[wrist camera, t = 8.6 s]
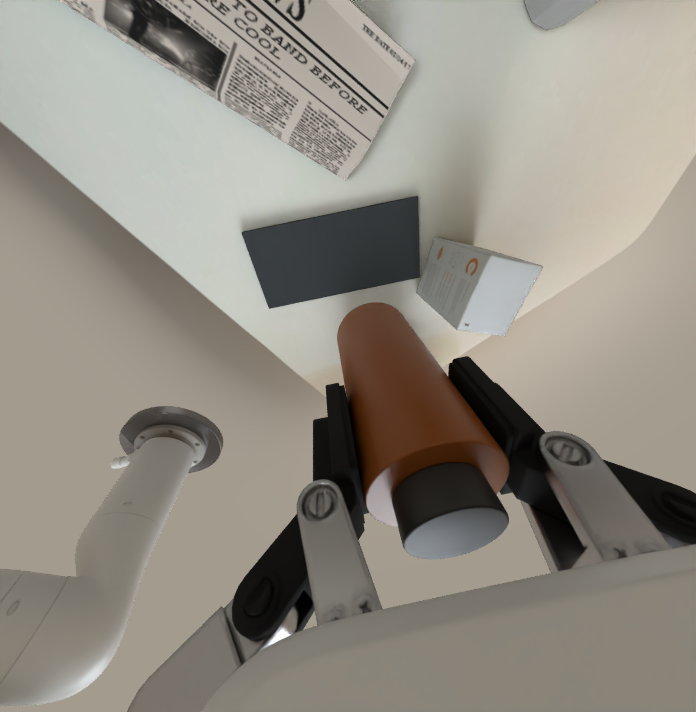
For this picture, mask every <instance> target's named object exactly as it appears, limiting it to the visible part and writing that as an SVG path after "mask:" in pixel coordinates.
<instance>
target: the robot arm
mask: <svg viewBox="0 0 696 712" xmlns="http://www.w3.org/2000/svg"><path fill="white" fill-rule="evenodd" d="M448 374H449V375H448V377H449V379H450V380H451V381H452V383H453V384H454V385H455V387H456V388H457V389H458V391H459V392H460V393H461V395H462V396H463V398H464V399H465V400H466V402H467V403H468V404H469V406H470V407H471V408H472V410H473V411H474V412H475V414H476V415H477V416H478V418H479V419H480V420H481V422H482V423H483V424H484V426H485V427H486V429H487V430H488V431H489V433H490V434H491V435H492V437H493V438H494V439H495V441H496V442H497V443H498V445H499V446H500V447H501V449H502V450H503V451H504V453H505V454H506V456H507V458H508V461H509V467H510V471H509V476H508V478H507V481H506V482H505V484H504V486H503V487H502V488H501V490H500V491H499V492H500V493H501V494H507V493H512V492H513V494H514V495H515V497H516V498H517V499H519V500H521V504H522V506H523V508H524V510H525V513H526V515H527V518H528V520H529V522H530V525H531V527H532V529H533V532H534V534H535V536H536V539H537V541H538V543H539V546H540V548H541V550H542V553H543V555H544V558H545V560H546V562H547V565H548V567H549V569H550V571H551V573H550V574H545V575H541V576H535V577H531V578H526V579H521V580H516V581H512V582H507V583H503V584H498V585H493V586H488V587H484V588H479V589H474V590H470V591H465V592H460V593H456V594H451V595H446V596H442V597H437V598H432V599H428V600H423V601H419V602H414V603H410V604H405V605H401V606H396V607H391V608H387V609H382V606H381V604H380V601H379V598H378V595H377V592H376V589H375V586H374V583H373V581H372V578H371V575H370V572H369V569H368V567H367V564H366V561H365V558H364V555H363V552H362V549H361V547H360V544H359V541H358V540H359V538H360V537H361V535H362V533H363V532H364V523H365V521H364V515H363V514H366V513H369V512H368V510H367V509H366V506H365V503H364V497H363V490H362V483H361V477H360V471H359V465H358V459H357V453H356V447H355V441H354V435H353V429H352V423H351V417H350V411H349V405H348V400H347V396H346V392H345V387H344V385H342V386H339V383H335V384H330V385H326V398H327V413H328V417H325V418H320V419H315V420H314V421H313V482H312V483H310V484H309V485H307V486H306V487H305V488H304V489H303V491H302V492H301V494H300V496H299V498H298V502H297V514H296V516H295V517H294V518H293V519H292V520H291V522H290V523H289V524H288V526H287V527H286V528H285V529H284V530H283V531H282V533H281V534H280V535H279V536H278V538H277V539H276V540H275V541H274V542H273V543H272V545H271V546H270V547H269V548H268V550H267V551H266V552H265V553H264V554H263V556H262V557H261V558H260V559H259V560H258V562H257V563H256V564H255V565H254V566H253V568H252V569H251V570H250V571H249V573H248V574H247V575H246V576H245V577H244V579H243V581H242V582H241V583H240V585H239V586H238V589H237V591H236V593H235V596H234V599H233V600H232V601H231V602H230V603H229V604H228V605H227V606H226V607H225V608H223V607H220V608H219V609H218V610H217V611H216V612H215V613H214V614H213V615H212V616H211V617H210V618H209V619H208V620H207V621H206V622H205V623H204V624H203V625H202V626H201V627H200V628H199V629H198V630H197V631H196V632H195V633H194V634H193V635H192V636H191V637H190V638H189V639H188V640H187V641H186V642H184V643H183V644H182V645H181V646H180V647H179V648H178V649H177V650H176V651H175V652H174V653H173V654H172V655H171V656H170V657H169V658H168V659H167V660H166V661H165V662H164V663H163V664H162V665H161V666H160V667H159V668H158V669H157V670H156V671H155V672H154V673H153V674H152V675H151V676H150V677H149V678H148V679H147V681H146V682H145V683H144V684H143V685H142V687H141V688H140V689H139V690H138V692H137V694H136V696H135V697H134V699H133V701H132V703H131V705H130V706H129V709H128V712H696V494H695V493H694V492H692V491H690V490H687V489H685V488H683V487H680V486H678V485H675V484H672V483H669V482H666V481H663V480H661V479H658V478H654V477H652V476H649V475H646V474H643V473H640V472H637V471H635V470H632V469H628V468H626V467H623V466H620V465H617V464H614V463H611V462H608V461H605V460H603V459H601V457H600V456H599V455H598V453H597V452H596V451H595V450H594V449H593V447H592V446H591V445H590V444H588V443H587V442H586V441H584V440H583V439H581V438H579V437H577V436H575V435H573V434H569V433H566V432H561V431H551V432H547V433H546V432H545V431H544V430H543V429H542V428H541V427H540V426H539V425H538V424H537V423H536V422H535V421H534V420H533V419H532V418H531V417H530V416H529V415H528V414H527V413H526V412H525V411H524V410H523V409H522V408H521V407H520V406H519V405H518V404H517V403H516V402H515V401H514V400H513V399H512V398H511V397H510V396H509V395H508V394H507V393H506V392H505V391H504V389H503V388H501V387H500V386H499V385H498V384H497V383H494V382H493V381H492V380H491V379H490V378H489V377H488V376H487V375H486V374H485V373H484V372H483V371H482V370H481V369H480V368H479V367H478V366H477V365H476V364H475V363H474V362H473V361H472V359H471V358H470V357H467V356H466V357H461V358H456V359H453V362H452V363H450V364H449V373H448ZM134 448H135V451H134V452H133V453H131V454H129V455H128V456H127V457H119V458H115V459H113V460H112V461H111V467H112V468H113V469H116V468H121V467H125V466H127V468H126V469H125V471H124V472H123V473H122V475H121V476H120V478H119V479H118V481H117V482H116V484H115V485H114V487H113V488H112V489H111V491H110V492H109V494H108V495H107V497H106V498H105V500H104V501H103V503H102V504H101V506H100V507H99V509H98V510H97V511H96V513H95V514H94V516H93V517H92V519H91V520H90V522H89V523H88V525H87V526H86V528H85V529H84V530H83V532H82V534H81V536H80V539H79V540H78V543H77V547H76V554H75V563H76V573H77V577H71V576H68V577H65V576H57V575H51V574H43V573H36V572H29V571H21V570H10V569H0V706H17V705H18V706H20V705H37V704H44V703H50V702H54V701H58V700H62V699H65V698H67V697H70V696H72V695H74V694H76V693H78V692H79V691H81V690H83V689H85V688H86V687H87V686H88V685H90V684H91V683H92V682H93V681H94V680H95V679H96V678H97V677H99V675H100V674H101V673H102V672H103V671H104V670H105V668H106V667H107V665H108V664H109V663H110V661H111V659H112V658H113V656H114V654H115V652H116V650H117V649H118V646H119V644H120V642H121V639H122V637H123V635H124V631H125V629H126V626H127V623H128V620H129V616H130V613H131V610H132V606H133V603H134V600H135V596H136V593H137V590H138V587H139V584H140V581H141V578H142V575H143V573H144V570H145V568H146V565H147V563H148V560H149V558H150V556H151V553H152V551H153V549H154V546H155V544H156V542H157V540H158V537H159V535H160V533H161V531H162V529H163V527H164V524H165V522H166V520H167V518H168V515H169V513H170V511H171V509H172V507H173V504H174V502H175V500H176V498H177V496H178V493H179V491H180V489H181V487H182V484H183V482H184V480H185V478H186V475H187V473H188V471H189V469H190V467H192V466H194V465H196V464H198V463H199V462H200V461H201V460H202V459H203V457H204V455H205V452H206V446H205V443H204V442H203V440H202V439H201V438H200V437H199V436H198V435H197V434H196V433H194V432H193V431H191V430H189V429H186V428H184V427H180V426H176V425H168V424H164V425H154V426H151V427H148V428H146V429H144V430H143V431H141V432H140V433H139V435H138V436H137V437H136V439H135V441H134ZM22 573H23V574H22ZM19 577H20V578H19ZM9 590H10V591H9ZM314 611H315V614H316V620H317V626H315V627H311V628H308V629H305V630H303V628H304V627H305V625H306V624H307V622H308V620H309V619H310V617H311V615H312V614H313V612H314Z"/></svg>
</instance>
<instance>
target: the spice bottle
mask: <svg viewBox="0 0 696 712" xmlns="http://www.w3.org/2000/svg"><path fill="white" fill-rule="evenodd" d="M337 341H338V347H339V353H340V359H341V365H342V371H343V377H344V383H345V389H346V395H347V400H348V405H349V411H350V417H351V423H352V429H353V435H354V441H355V447H356V453H357V459H358V465H359V471H360V477H361V483H362V490H363V497H364V503H365V506H366V509H367V510H368V512H369V513H370V514H371V515H372V516H373V517H374V518H376V519H377V520H378V521H380V522H383V523H385V524H388V525H392V526H397V527H398V528H399V532H400V536H401V540H402V544H403V547H404V549H405V550H406V552H407V553H408V554H410V555H412V556H414V557H417V558H423V559H444V558H450V557H455V556H459V555H463V554H466V553H469V552H472V551H474V550H477V549H479V548H481V547H483V546H485V545H487V544H488V543H490V542H492V541H493V540H495V539H496V538H497V537H498V536H499V535H501V534H502V533H503V532H504V530H505V529H506V528H507V525H508V522H509V517H508V514H507V512H506V510H505V509H504V507H503V505H502V503H501V502H500V500H499V498H498V497H497V495H496V494H497V493H498V492H499V491H500V490H501V488H502V487H503V486H504V484H505V482H506V481H507V478H508V476H509V471H510V467H509V461H508V458H507V456H506V454H505V453H504V451H503V450H502V449H501V447H500V446H499V445H498V443H497V442H496V441H495V439H494V438H493V437H492V435H491V434H490V433H489V431H488V430H487V429H486V427H485V426H484V424H483V423H482V422H481V420H480V419H479V418H478V416H477V415H476V414H475V412H474V411H473V410H472V408H471V407H470V406H469V404H468V403H467V402H466V400H465V399H464V398H463V396H462V395H461V393H460V392H459V391H458V389H457V388H456V387H455V385H454V384H453V383H452V381H451V380H450V379H449V377H448V376H447V375H446V373H445V372H444V371H443V369H442V368H441V367H440V365H439V364H438V363H437V361H436V360H435V358H434V357H433V356H432V354H431V353H430V352H429V350H428V349H427V348H426V346H425V345H424V344H423V342H422V341H421V340H420V338H419V337H418V336H417V334H416V333H415V332H414V330H413V329H412V327H411V326H410V325H409V323H408V322H407V321H406V319H405V318H404V317H403V315H402V314H401V313H400V312H399V311H398V310H397V309H396V308H394V307H392V306H390V305H388V304H385V303H378V302H376V303H367V304H363V305H361V306H359V307H357V308H355V309H353V310H352V311H351V312H349V313H348V314H347V315H346V317H345V318H344V319H343V321H342V322H341V324H340V326H339V329H338V334H337Z"/></svg>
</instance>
